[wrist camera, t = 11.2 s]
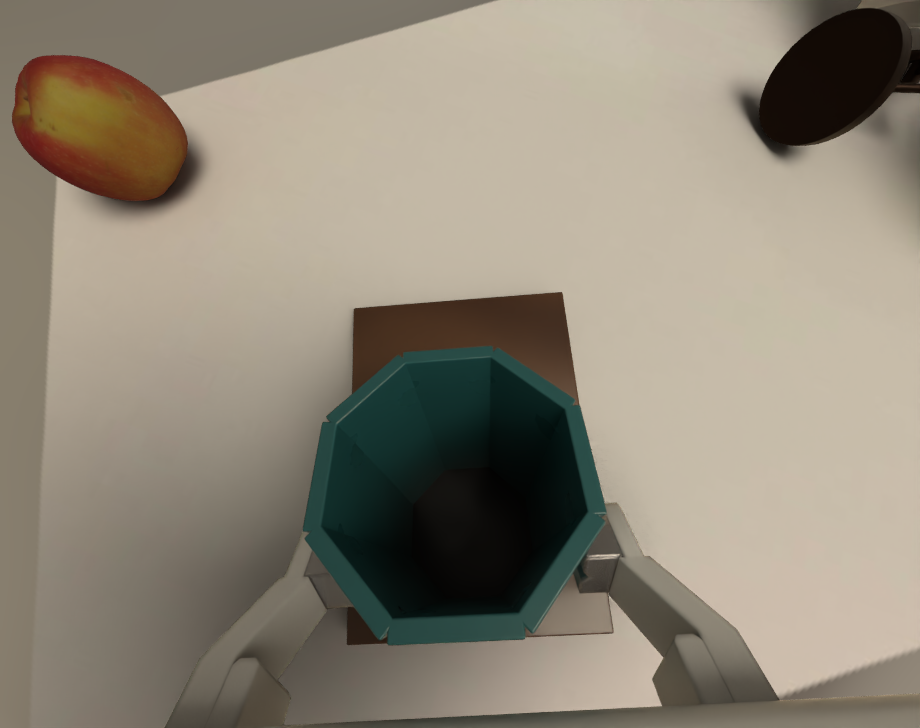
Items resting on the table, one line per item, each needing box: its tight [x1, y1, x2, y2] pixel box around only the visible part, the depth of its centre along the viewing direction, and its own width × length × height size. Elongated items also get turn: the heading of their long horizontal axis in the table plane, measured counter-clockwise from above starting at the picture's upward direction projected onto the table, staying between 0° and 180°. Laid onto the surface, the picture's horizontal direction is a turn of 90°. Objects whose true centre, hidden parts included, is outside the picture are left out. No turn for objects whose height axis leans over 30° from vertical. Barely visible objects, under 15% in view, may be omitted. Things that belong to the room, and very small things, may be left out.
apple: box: [12, 55, 188, 201], centre depth 22 cm, size 8×8×8 cm
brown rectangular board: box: [347, 292, 613, 645], centre depth 18 cm, size 18×13×3 cm
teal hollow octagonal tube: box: [303, 346, 607, 645], centre depth 12 cm, size 6×6×11 cm
